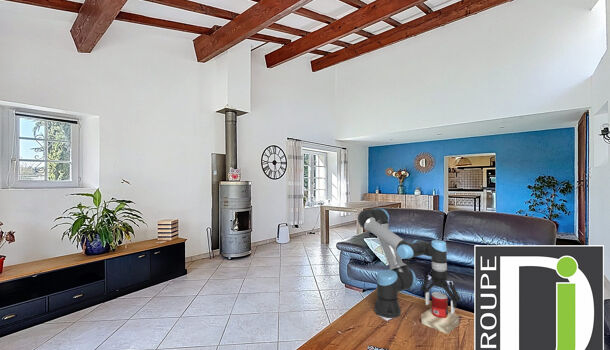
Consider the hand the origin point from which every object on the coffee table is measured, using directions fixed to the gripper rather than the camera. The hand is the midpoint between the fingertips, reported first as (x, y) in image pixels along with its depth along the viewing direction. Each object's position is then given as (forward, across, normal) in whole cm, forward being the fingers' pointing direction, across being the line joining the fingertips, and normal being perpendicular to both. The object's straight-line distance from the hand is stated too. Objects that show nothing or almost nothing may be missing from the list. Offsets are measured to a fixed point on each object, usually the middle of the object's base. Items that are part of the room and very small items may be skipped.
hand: (439, 308), depth 154 cm
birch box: (+8, 0, 0) cm, 8 cm away
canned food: (+4, 0, 0) cm, 4 cm away
